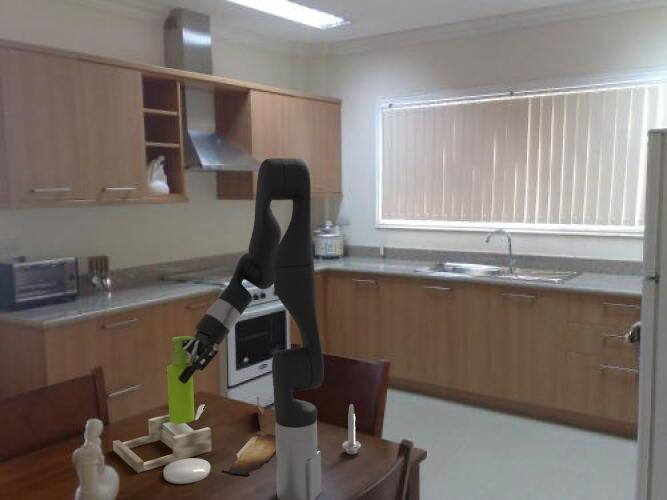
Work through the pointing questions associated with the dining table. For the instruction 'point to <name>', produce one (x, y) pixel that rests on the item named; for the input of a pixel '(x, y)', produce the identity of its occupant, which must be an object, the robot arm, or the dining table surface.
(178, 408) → the soap dispenser
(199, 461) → the ceramic trivet
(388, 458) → the dining table surface
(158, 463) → the offcut rack
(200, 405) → the butter knife
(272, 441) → the parchment
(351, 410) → the screw
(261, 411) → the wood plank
